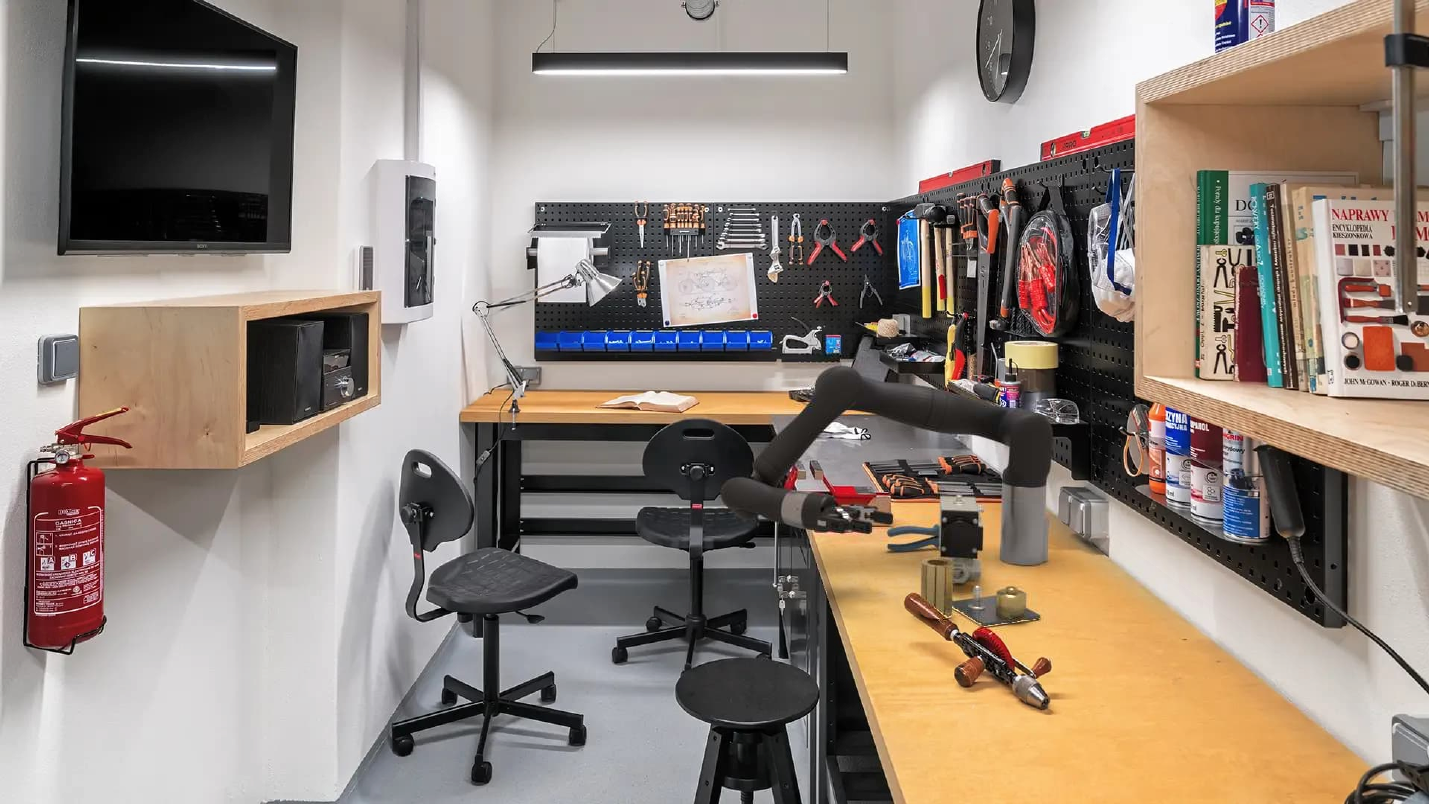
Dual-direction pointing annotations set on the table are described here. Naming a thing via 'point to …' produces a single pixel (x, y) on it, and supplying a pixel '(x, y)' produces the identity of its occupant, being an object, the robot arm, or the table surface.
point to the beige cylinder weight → (1011, 603)
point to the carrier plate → (986, 609)
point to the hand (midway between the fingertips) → (882, 523)
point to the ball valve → (961, 535)
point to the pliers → (917, 544)
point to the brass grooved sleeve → (938, 584)
